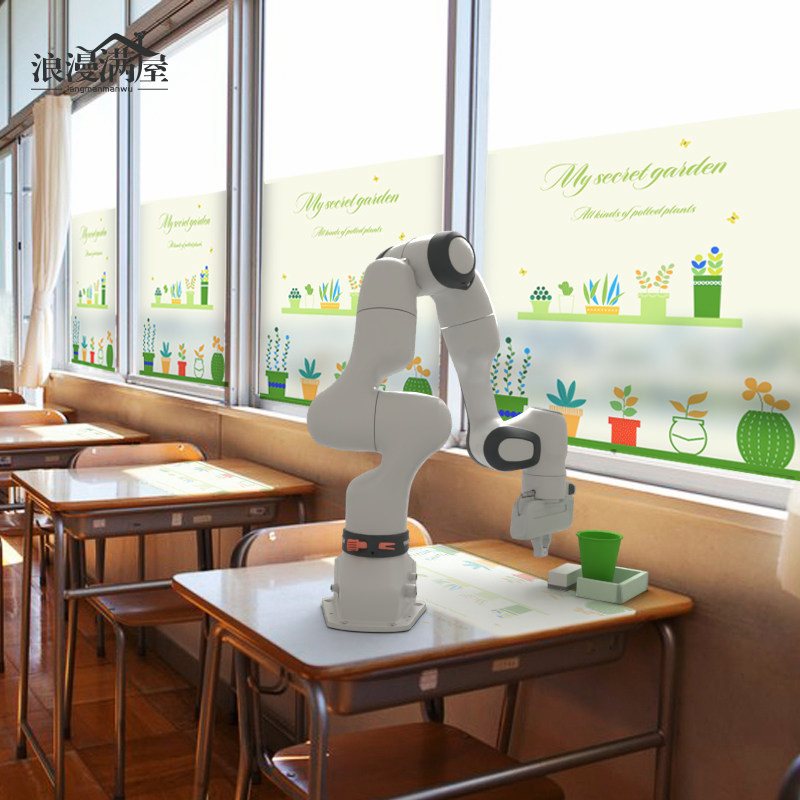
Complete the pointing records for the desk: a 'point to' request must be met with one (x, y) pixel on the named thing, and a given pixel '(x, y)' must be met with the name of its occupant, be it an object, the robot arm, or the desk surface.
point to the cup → (598, 553)
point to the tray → (614, 586)
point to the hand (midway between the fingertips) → (540, 556)
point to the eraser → (564, 576)
